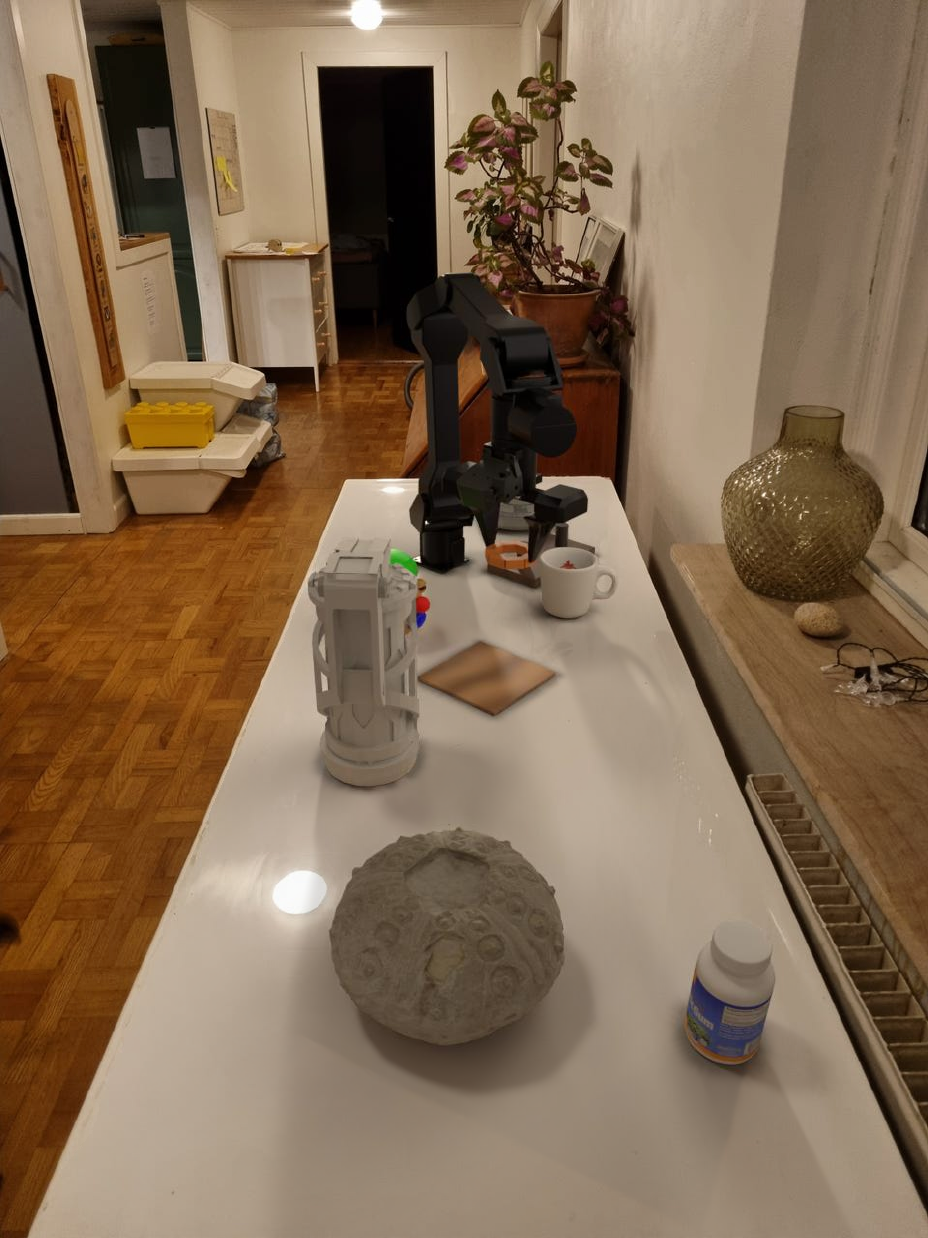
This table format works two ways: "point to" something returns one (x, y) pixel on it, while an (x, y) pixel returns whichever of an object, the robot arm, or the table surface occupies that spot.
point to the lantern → (366, 663)
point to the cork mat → (487, 677)
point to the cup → (572, 581)
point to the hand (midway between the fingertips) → (510, 555)
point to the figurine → (421, 601)
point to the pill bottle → (731, 993)
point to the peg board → (538, 558)
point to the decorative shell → (447, 936)
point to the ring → (508, 562)
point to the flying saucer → (514, 515)
